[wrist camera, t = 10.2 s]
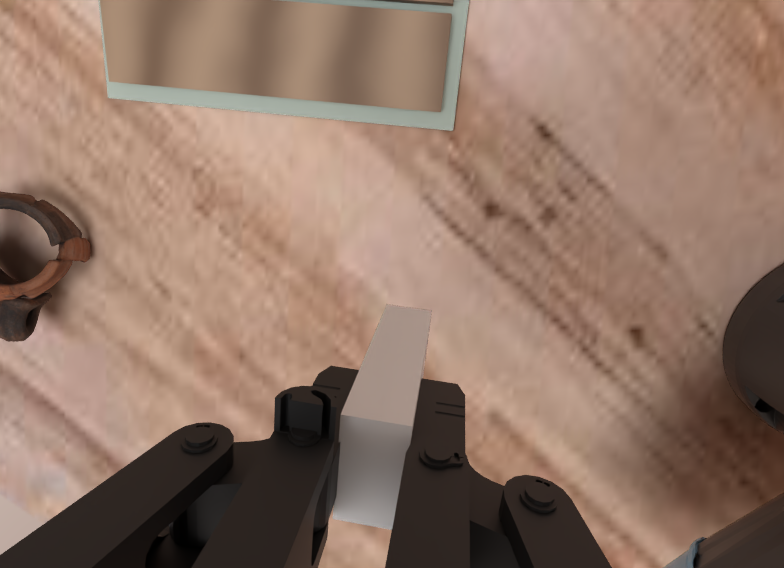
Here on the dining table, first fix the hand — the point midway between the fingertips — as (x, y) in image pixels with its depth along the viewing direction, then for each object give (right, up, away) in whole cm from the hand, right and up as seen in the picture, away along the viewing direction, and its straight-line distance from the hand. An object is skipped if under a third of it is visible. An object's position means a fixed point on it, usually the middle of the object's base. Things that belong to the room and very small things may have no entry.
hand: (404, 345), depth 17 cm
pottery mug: (-30, +4, +27) cm, 41 cm away
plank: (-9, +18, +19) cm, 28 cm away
